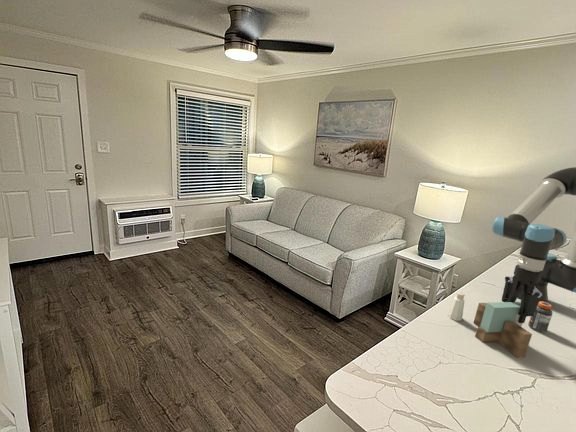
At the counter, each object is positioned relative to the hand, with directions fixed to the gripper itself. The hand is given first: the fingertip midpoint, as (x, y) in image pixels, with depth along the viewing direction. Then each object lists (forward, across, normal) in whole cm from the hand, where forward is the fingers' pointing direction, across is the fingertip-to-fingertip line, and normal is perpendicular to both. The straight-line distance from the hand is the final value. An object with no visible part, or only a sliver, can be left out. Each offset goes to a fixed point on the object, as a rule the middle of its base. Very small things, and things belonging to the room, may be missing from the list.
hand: (511, 325), depth 115 cm
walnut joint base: (+5, 0, -5) cm, 7 cm away
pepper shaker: (+6, -14, -12) cm, 19 cm away
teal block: (+1, 0, -4) cm, 5 cm away
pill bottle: (+6, -5, +19) cm, 21 cm away
